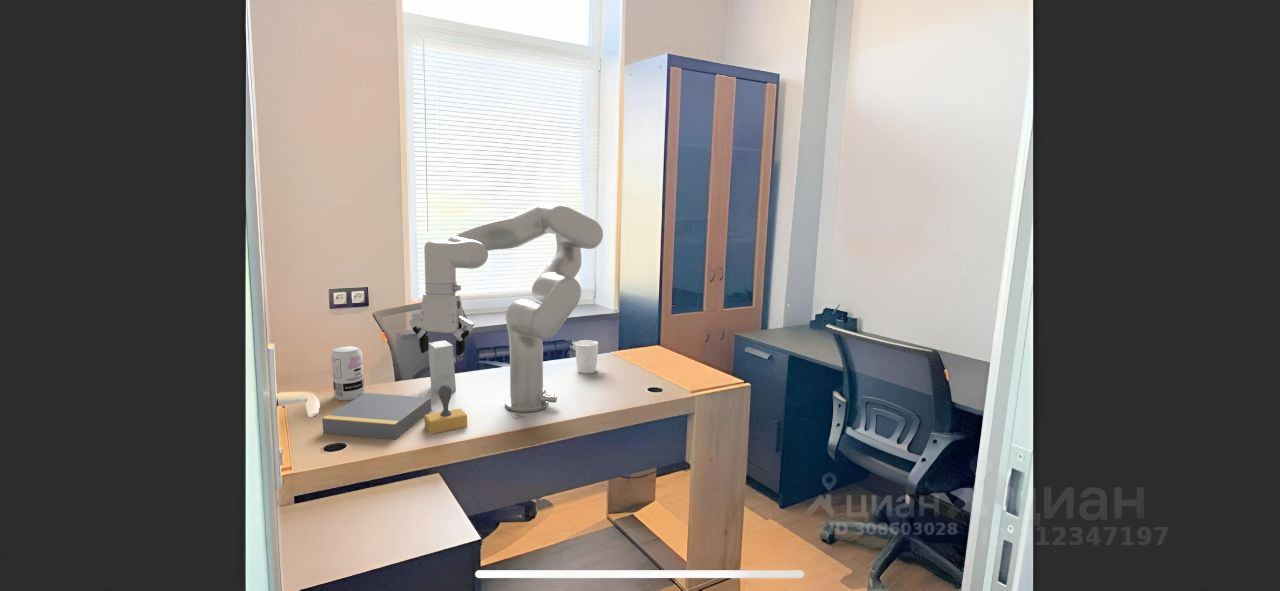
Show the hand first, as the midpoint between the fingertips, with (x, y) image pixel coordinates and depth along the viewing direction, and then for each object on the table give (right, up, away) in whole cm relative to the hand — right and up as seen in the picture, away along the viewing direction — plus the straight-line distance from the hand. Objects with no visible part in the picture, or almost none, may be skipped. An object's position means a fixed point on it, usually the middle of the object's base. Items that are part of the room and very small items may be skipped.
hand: (442, 353), depth 166 cm
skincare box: (-10, -15, +33) cm, 38 cm away
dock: (-19, -19, +7) cm, 28 cm away
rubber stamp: (0, -21, +4) cm, 21 cm away
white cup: (+33, -11, +55) cm, 66 cm away
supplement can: (-36, -16, +25) cm, 46 cm away
